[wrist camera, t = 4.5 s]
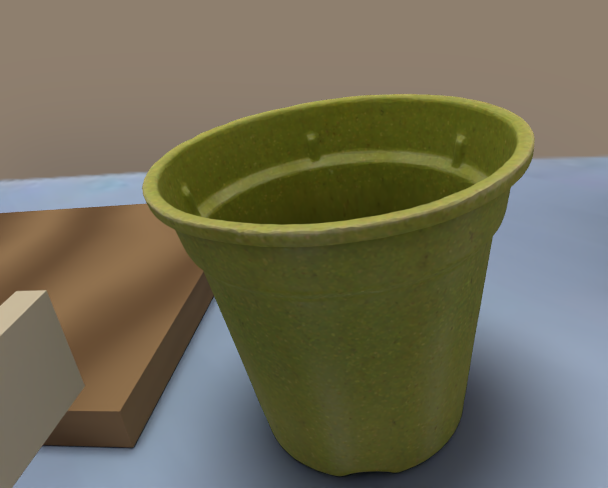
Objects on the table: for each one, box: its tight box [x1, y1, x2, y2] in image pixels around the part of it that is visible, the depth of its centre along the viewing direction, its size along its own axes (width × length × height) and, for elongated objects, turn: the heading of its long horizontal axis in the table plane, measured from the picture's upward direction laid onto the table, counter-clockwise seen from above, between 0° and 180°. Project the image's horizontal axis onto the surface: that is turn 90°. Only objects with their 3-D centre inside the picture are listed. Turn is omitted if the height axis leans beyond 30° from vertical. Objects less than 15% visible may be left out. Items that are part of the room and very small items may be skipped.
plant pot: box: [142, 94, 535, 476], centre depth 16 cm, size 9×9×9 cm
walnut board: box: [0, 204, 214, 447], centre depth 26 cm, size 18×16×2 cm
